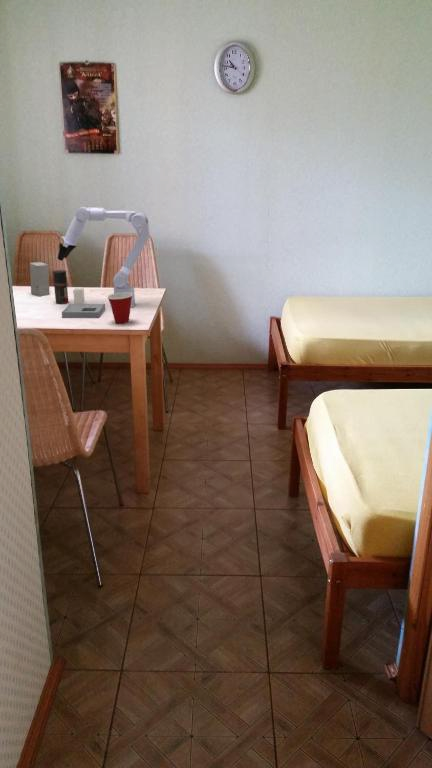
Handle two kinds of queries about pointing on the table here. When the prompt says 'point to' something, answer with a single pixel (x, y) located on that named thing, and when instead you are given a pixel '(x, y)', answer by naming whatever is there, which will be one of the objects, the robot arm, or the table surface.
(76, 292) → the beige rectangular block
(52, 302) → the table surface
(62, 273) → the deodorant
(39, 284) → the skincare box
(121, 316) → the plastic cup
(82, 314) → the outlet plate
